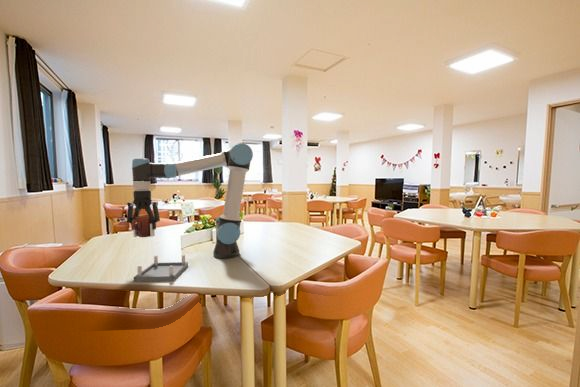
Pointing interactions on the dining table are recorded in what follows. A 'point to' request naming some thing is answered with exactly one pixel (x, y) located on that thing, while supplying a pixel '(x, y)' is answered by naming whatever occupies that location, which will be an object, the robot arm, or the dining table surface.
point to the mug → (142, 225)
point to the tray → (161, 271)
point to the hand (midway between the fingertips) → (144, 236)
